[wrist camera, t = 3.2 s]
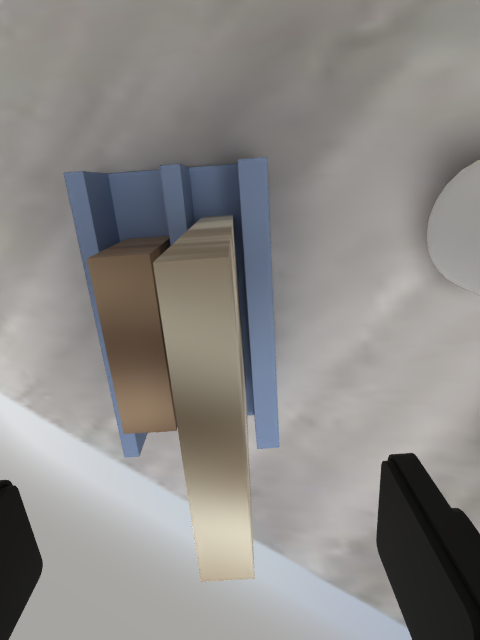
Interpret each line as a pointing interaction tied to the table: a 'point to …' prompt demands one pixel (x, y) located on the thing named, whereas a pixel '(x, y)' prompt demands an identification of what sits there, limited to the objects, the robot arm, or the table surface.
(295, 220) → the table surface
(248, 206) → the rack
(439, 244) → the base with upright slab
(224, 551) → the birch sheet
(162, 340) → the walnut offcut
